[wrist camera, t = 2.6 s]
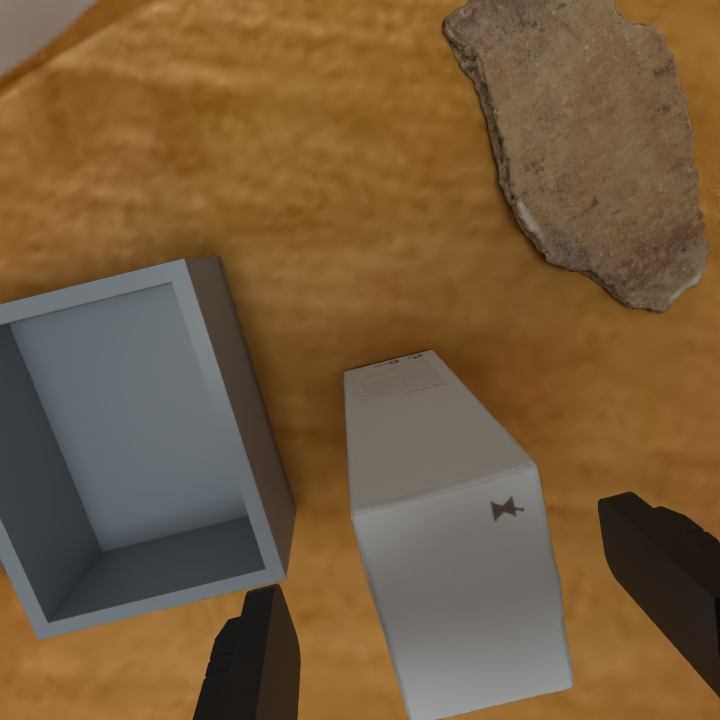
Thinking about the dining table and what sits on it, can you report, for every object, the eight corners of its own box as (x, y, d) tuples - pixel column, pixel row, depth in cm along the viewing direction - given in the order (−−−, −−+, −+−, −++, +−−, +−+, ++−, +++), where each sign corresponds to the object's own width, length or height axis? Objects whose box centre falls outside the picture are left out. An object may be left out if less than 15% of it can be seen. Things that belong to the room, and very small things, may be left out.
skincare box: (339, 370, 22) (344, 507, 10) (432, 346, 22) (545, 457, 10) (371, 491, 23) (408, 735, 12) (459, 470, 23) (585, 692, 12)
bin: (219, 256, 21) (184, 258, 16) (296, 510, 23) (286, 579, 18) (-2, 311, 21) (-106, 331, 16) (100, 558, 23) (38, 640, 18)
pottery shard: (728, 225, 23) (557, -85, 19) (778, 227, 21) (595, -129, 16) (583, 341, 24) (389, 71, 20) (614, 356, 22) (401, 51, 17)
